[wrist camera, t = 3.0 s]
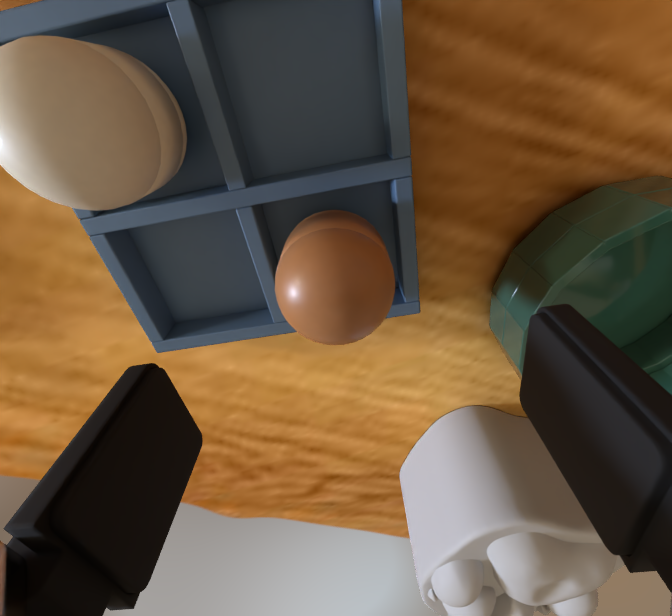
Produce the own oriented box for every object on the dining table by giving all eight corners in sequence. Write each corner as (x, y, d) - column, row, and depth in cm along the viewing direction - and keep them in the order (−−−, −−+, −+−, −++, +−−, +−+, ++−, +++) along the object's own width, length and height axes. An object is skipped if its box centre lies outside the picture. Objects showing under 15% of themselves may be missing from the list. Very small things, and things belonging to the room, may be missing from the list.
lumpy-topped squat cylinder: (582, 428, 24) (693, 578, 16) (485, 521, 30) (534, 657, 23) (446, 397, 22) (503, 549, 15) (375, 503, 29) (389, 644, 21)
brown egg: (276, 206, 15) (246, 268, 10) (375, 188, 15) (399, 241, 10) (299, 292, 17) (285, 378, 12) (385, 278, 17) (409, 361, 12)
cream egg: (60, 66, 12) (-140, 47, 7) (175, 38, 12) (54, -2, 7) (121, 189, 15) (4, 243, 9) (219, 169, 14) (154, 215, 9)
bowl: (492, 200, 15) (537, 230, 12) (759, 152, 15) (890, 171, 11) (481, 377, 21) (509, 432, 18) (672, 352, 20) (740, 404, 17)
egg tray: (12, 30, 12) (-40, 20, 10) (387, -64, 11) (396, -92, 9) (172, 330, 19) (156, 353, 17) (412, 292, 18) (420, 313, 16)
